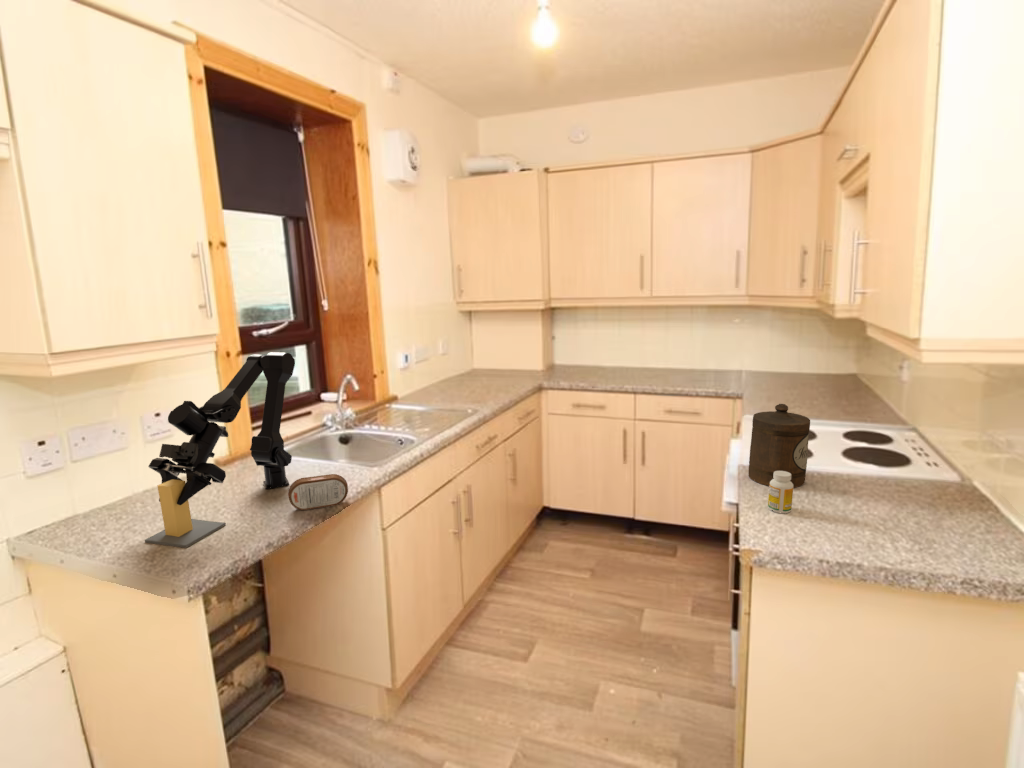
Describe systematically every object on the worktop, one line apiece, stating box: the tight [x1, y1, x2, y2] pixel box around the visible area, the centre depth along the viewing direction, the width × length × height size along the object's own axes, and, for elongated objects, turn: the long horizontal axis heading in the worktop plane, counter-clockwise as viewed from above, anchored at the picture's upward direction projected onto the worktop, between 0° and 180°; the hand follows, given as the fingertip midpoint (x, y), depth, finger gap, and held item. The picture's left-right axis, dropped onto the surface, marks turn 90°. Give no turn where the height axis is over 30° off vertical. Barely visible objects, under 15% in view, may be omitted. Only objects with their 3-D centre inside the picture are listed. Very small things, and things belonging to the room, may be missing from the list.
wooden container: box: [748, 403, 811, 488], centre depth 159 cm, size 15×15×22 cm
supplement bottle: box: [767, 471, 794, 514], centre depth 140 cm, size 5×5×10 cm
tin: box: [287, 473, 349, 511], centre depth 149 cm, size 15×3×8 cm, turn 111°
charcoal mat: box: [144, 518, 226, 549], centre depth 136 cm, size 12×12×1 cm
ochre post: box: [157, 479, 193, 537], centre depth 134 cm, size 4×4×12 cm
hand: (169, 503), depth 132 cm, fingers open, 5 cm apart
